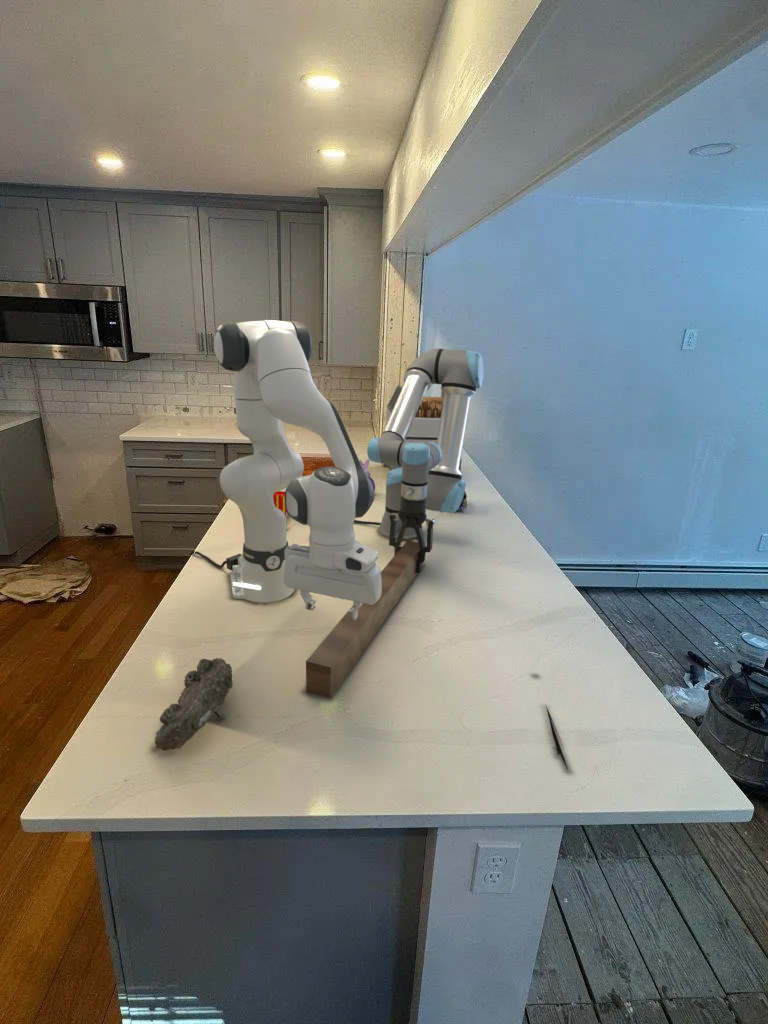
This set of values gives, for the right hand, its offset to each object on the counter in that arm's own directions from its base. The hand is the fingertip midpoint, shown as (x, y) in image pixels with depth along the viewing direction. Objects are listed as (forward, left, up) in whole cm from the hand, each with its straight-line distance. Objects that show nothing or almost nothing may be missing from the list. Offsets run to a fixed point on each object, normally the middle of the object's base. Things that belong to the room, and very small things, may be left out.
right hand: (409, 569), depth 172 cm
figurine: (-65, +35, -1) cm, 74 cm away
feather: (+65, -23, -1) cm, 69 cm away
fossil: (+23, -76, -1) cm, 79 cm away
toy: (-63, -8, -1) cm, 63 cm away
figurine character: (-32, +56, -1) cm, 65 cm away
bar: (+14, -25, -1) cm, 29 cm away
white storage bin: (-77, +79, -1) cm, 110 cm away
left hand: (+29, -50, +15) cm, 59 cm away
